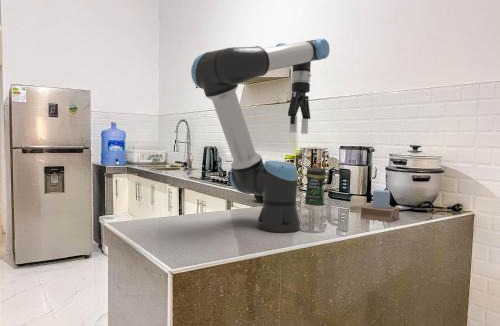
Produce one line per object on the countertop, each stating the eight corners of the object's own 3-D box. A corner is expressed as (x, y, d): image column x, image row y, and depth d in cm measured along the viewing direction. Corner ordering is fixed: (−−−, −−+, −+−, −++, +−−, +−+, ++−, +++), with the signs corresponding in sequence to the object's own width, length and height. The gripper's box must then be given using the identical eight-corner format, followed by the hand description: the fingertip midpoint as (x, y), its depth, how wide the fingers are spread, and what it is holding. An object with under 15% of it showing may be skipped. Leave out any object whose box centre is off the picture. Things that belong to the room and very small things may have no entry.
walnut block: (389, 223, 156) (390, 211, 156) (360, 219, 163) (361, 207, 163) (398, 219, 165) (399, 207, 165) (370, 215, 173) (371, 204, 172)
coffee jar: (303, 203, 198) (304, 167, 197) (308, 202, 205) (309, 167, 204) (321, 205, 193) (323, 168, 193) (326, 204, 200) (327, 168, 199)
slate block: (387, 209, 160) (388, 192, 160) (372, 207, 163) (373, 191, 162) (389, 207, 165) (390, 190, 165) (374, 205, 168) (375, 189, 168)
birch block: (363, 213, 175) (364, 198, 175) (350, 212, 178) (350, 196, 178) (366, 211, 181) (366, 196, 180) (352, 210, 183) (353, 195, 183)
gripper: (298, 77, 151) (296, 131, 152) (318, 86, 173) (316, 134, 174) (281, 78, 155) (279, 131, 156) (302, 87, 177) (300, 134, 178)
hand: (298, 133), depth 165 cm, fingers open, 13 cm apart
